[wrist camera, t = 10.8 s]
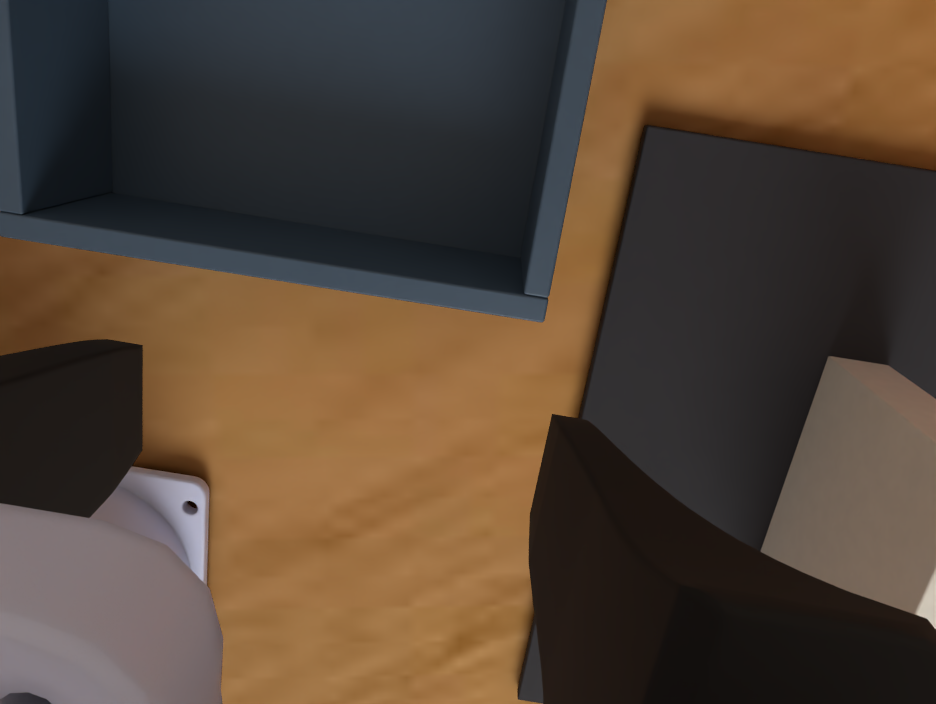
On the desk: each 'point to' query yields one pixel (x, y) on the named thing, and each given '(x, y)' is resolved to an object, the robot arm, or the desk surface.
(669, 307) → the mat
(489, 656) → the desk surface
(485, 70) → the bin
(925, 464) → the block
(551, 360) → the desk surface
